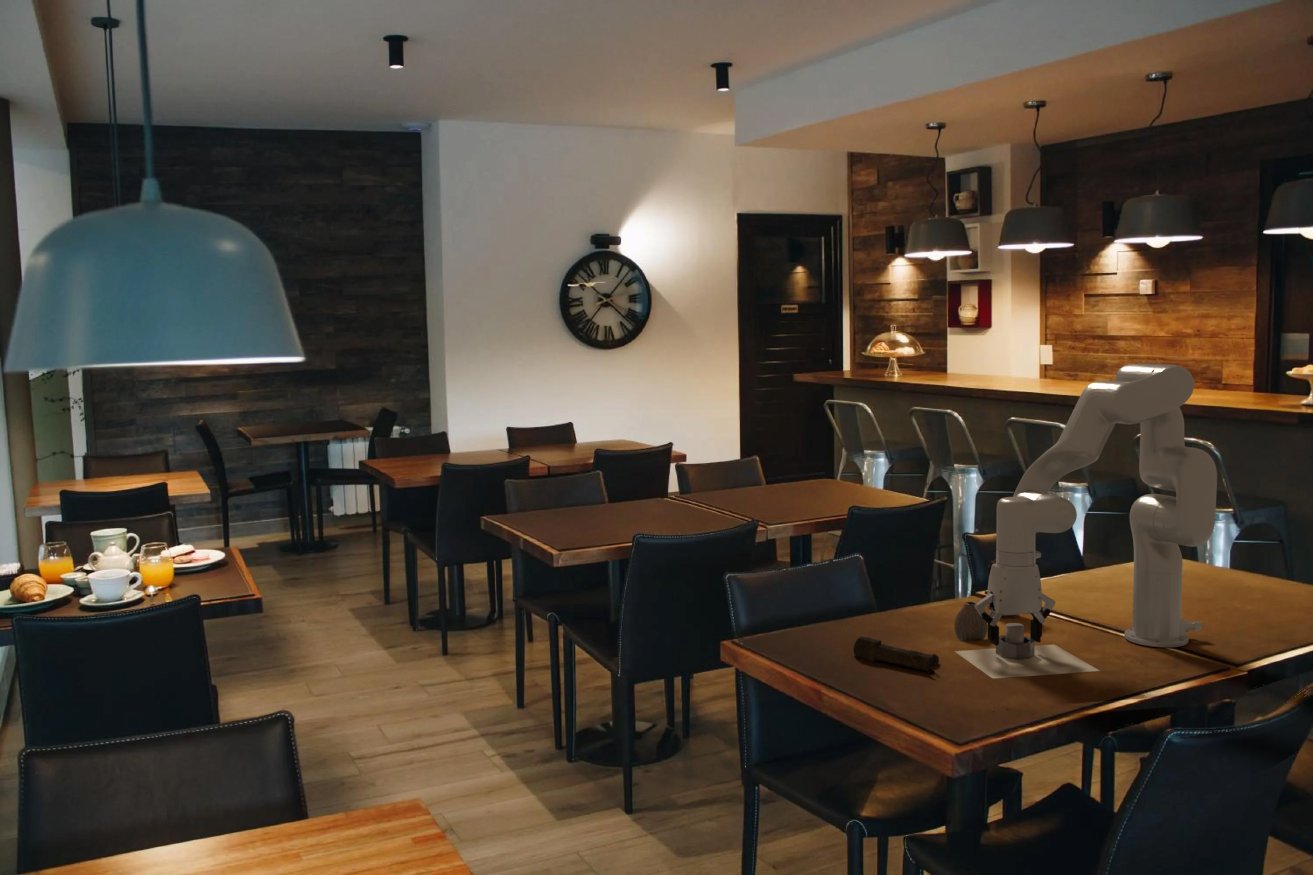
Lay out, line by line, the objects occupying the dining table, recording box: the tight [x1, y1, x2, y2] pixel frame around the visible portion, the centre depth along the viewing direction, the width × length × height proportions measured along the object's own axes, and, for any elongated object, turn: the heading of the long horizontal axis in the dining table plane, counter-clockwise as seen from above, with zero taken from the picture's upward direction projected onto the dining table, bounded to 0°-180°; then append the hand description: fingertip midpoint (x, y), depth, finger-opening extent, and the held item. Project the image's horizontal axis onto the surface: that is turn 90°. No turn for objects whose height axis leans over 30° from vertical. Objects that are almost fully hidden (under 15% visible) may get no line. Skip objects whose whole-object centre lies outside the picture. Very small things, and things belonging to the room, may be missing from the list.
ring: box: [995, 634, 1036, 660], centre depth 226 cm, size 7×7×3 cm
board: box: [954, 622, 1101, 679], centre depth 222 cm, size 22×18×8 cm
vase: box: [953, 601, 988, 642], centre depth 240 cm, size 7×7×9 cm
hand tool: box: [852, 636, 940, 676], centre depth 227 cm, size 19×4×5 cm, turn 45°
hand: (1014, 641), depth 226 cm, fingers open, 8 cm apart
